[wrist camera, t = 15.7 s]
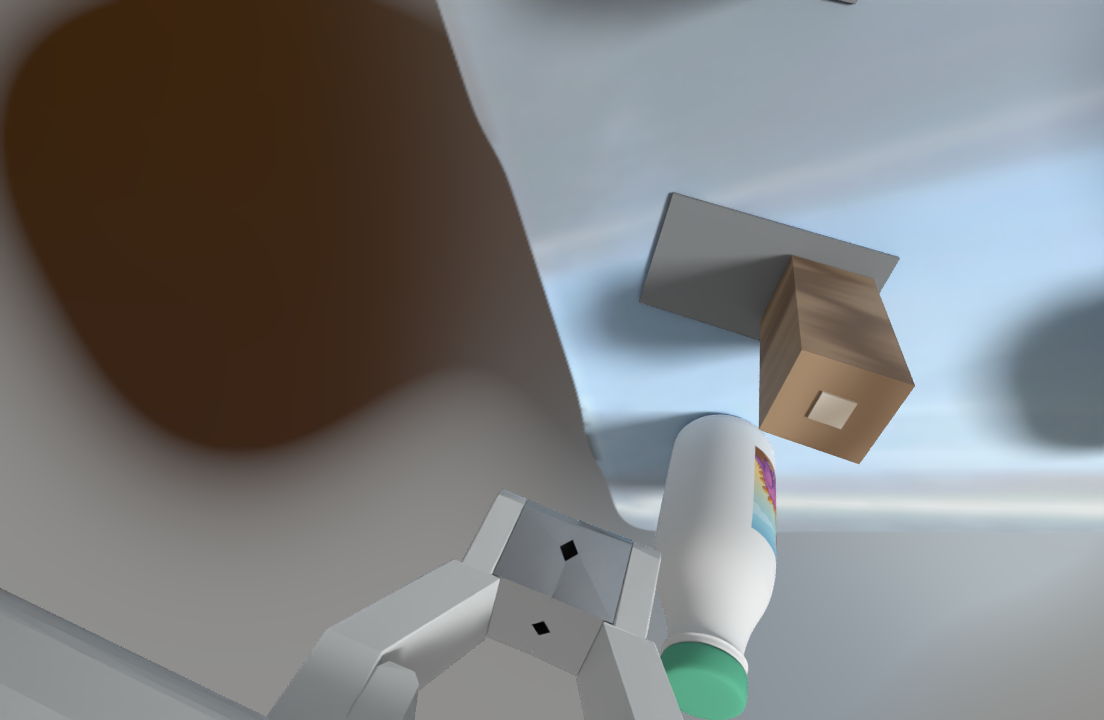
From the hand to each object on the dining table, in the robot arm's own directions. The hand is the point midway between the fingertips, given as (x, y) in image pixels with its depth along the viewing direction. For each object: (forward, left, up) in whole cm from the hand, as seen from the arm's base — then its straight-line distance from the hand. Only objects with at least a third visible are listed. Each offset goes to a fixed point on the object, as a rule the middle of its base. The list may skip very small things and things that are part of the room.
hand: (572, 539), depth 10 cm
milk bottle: (+21, -8, -31) cm, 38 cm away
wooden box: (+11, +2, -30) cm, 32 cm away
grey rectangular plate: (+9, 0, -30) cm, 32 cm away
